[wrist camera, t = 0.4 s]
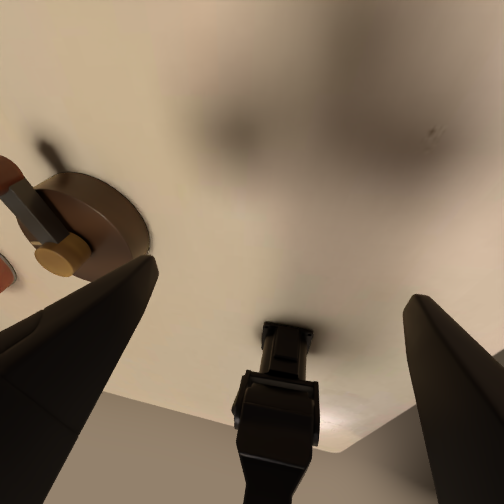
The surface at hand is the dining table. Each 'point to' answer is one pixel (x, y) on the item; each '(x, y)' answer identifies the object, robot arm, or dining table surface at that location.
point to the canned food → (6, 274)
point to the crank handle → (41, 223)
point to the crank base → (94, 221)
